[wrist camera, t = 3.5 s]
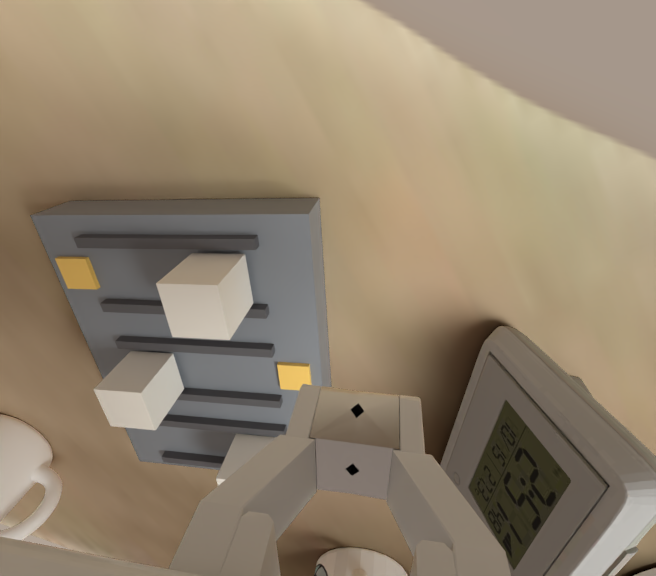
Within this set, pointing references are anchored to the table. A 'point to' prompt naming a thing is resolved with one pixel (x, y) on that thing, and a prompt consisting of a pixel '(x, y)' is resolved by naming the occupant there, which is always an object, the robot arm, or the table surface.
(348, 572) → the mug
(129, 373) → the slider
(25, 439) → the mug
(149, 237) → the switch unit
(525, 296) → the table surface
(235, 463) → the slider
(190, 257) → the slider
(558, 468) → the digital clock
